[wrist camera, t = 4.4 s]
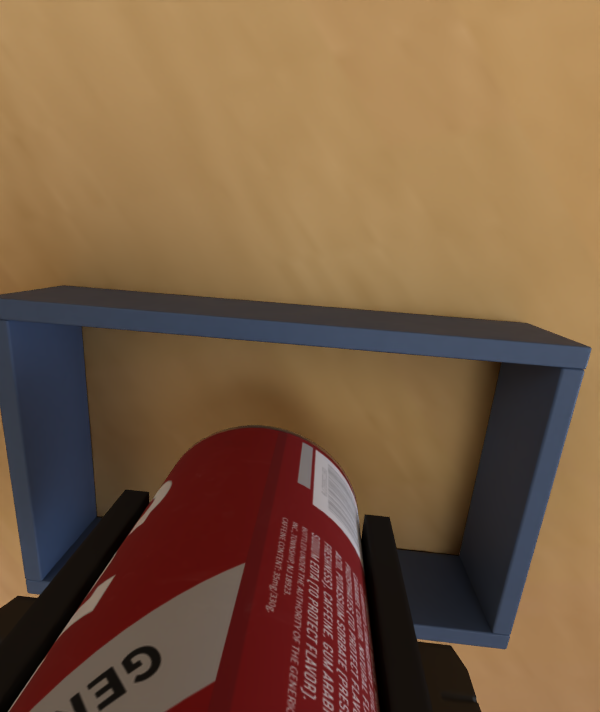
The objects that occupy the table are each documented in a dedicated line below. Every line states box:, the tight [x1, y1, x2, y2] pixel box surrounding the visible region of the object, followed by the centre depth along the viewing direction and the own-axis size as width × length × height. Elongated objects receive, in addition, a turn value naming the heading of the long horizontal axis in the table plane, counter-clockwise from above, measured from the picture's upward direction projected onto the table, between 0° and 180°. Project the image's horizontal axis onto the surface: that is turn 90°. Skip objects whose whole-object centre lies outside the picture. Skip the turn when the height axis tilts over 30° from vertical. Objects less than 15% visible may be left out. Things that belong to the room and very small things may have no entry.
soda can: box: [8, 425, 380, 712], centre depth 9 cm, size 7×7×12 cm
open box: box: [0, 286, 591, 649], centre depth 18 cm, size 14×22×4 cm, turn 86°
